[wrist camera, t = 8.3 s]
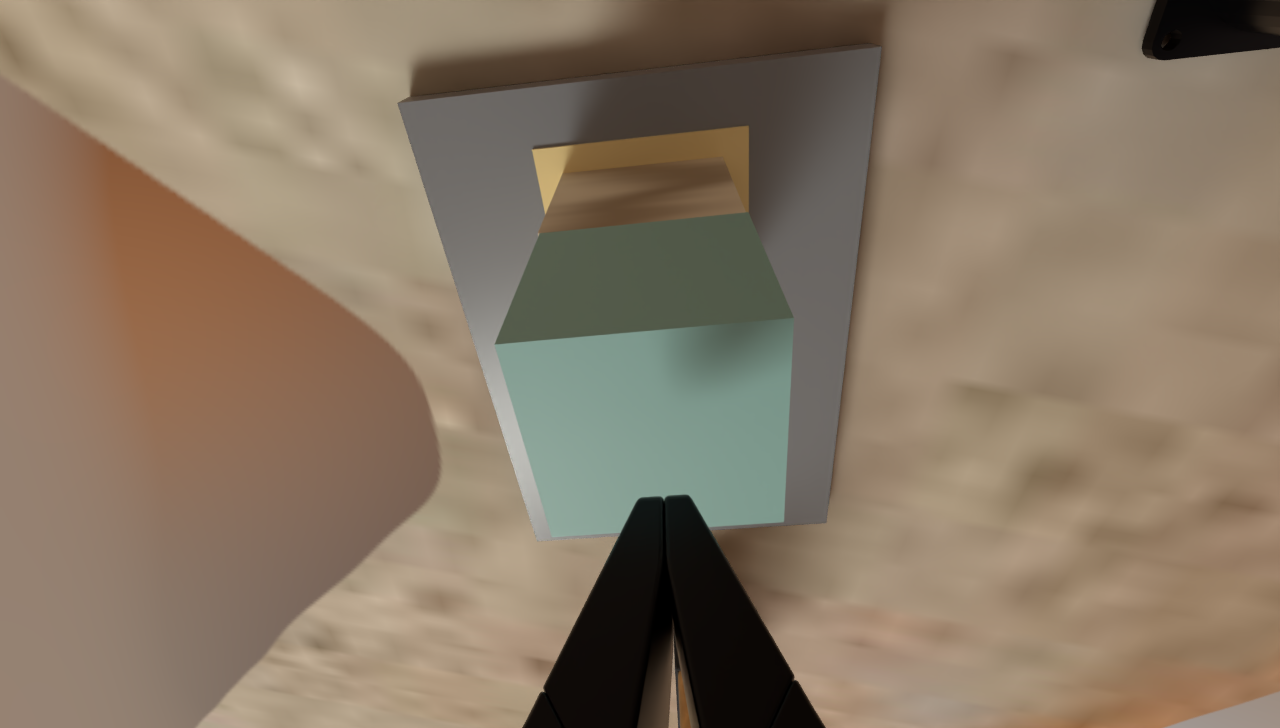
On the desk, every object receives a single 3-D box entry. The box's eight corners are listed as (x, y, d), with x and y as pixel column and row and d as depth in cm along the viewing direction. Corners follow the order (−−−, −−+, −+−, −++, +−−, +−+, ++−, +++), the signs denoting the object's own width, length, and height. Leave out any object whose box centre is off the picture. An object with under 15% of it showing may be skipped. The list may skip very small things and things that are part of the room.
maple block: (722, 156, 18) (746, 212, 13) (726, 300, 20) (746, 382, 16) (562, 173, 18) (537, 233, 14) (587, 312, 21) (572, 397, 17)
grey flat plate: (870, 43, 17) (883, 47, 16) (820, 506, 28) (826, 524, 27) (408, 96, 18) (396, 103, 17) (540, 525, 29) (536, 543, 28)
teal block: (748, 212, 13) (794, 317, 9) (748, 382, 16) (783, 522, 12) (539, 233, 14) (494, 344, 10) (575, 397, 17) (551, 537, 12)
